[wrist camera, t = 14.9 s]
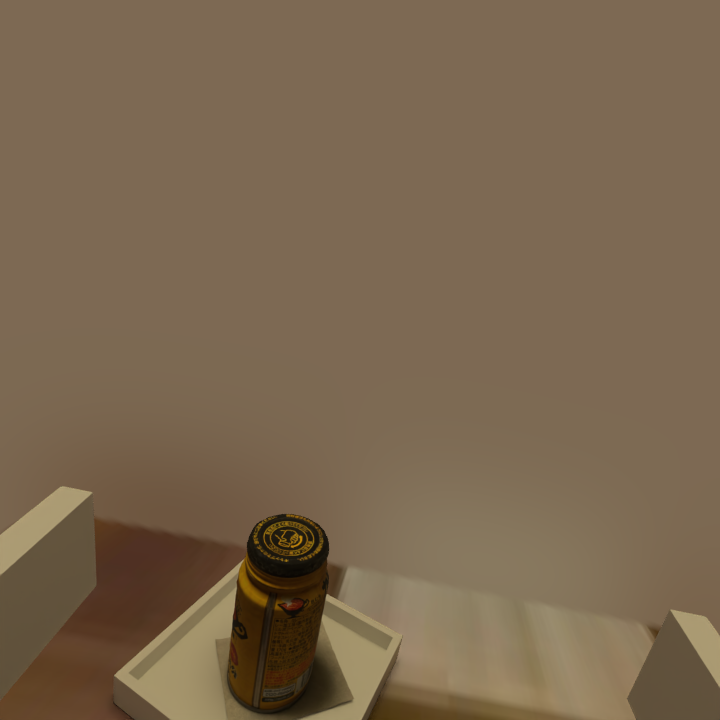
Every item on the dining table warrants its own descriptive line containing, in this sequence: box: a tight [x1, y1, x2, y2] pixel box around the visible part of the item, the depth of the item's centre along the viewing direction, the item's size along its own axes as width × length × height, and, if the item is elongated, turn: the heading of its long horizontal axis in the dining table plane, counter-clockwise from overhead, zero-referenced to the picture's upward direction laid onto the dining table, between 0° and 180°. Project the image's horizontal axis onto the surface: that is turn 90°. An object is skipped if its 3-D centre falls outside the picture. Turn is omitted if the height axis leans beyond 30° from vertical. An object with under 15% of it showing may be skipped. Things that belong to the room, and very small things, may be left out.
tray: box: [114, 560, 403, 720], centre depth 34 cm, size 15×14×2 cm
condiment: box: [215, 514, 354, 720], centre depth 33 cm, size 7×8×12 cm
